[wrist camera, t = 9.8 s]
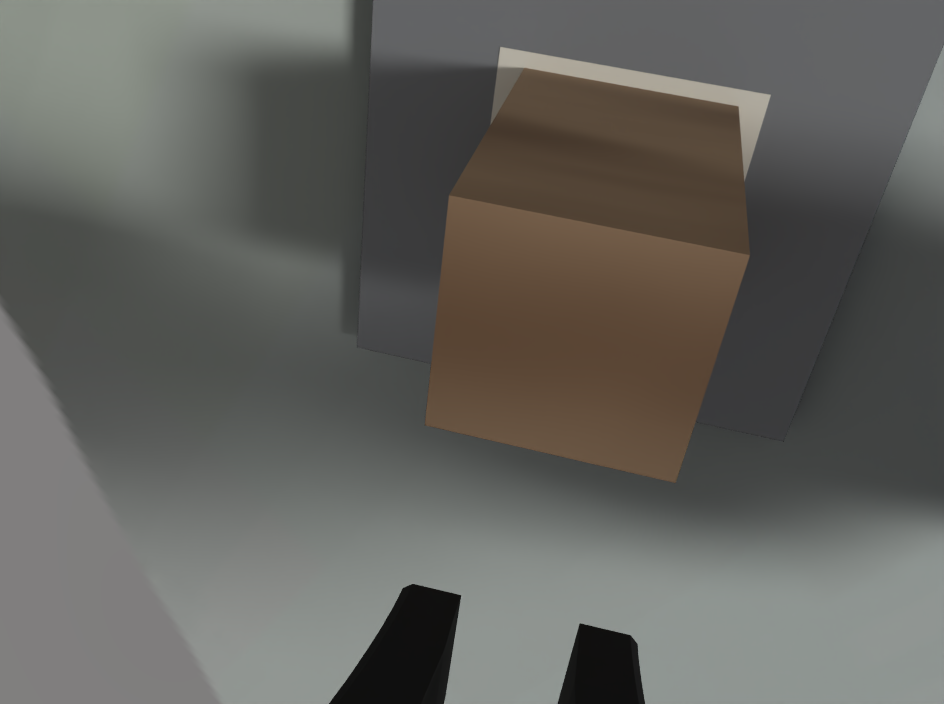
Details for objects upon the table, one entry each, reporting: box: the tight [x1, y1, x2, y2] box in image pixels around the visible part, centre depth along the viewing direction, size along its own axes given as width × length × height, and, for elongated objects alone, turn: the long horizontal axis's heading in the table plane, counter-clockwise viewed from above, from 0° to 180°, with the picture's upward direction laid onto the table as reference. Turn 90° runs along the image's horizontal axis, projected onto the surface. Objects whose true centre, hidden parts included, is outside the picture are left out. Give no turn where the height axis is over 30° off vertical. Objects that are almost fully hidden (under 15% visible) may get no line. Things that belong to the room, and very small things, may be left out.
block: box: [425, 68, 750, 483], centre depth 15 cm, size 4×4×6 cm
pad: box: [357, 0, 944, 442], centre depth 18 cm, size 10×10×1 cm
